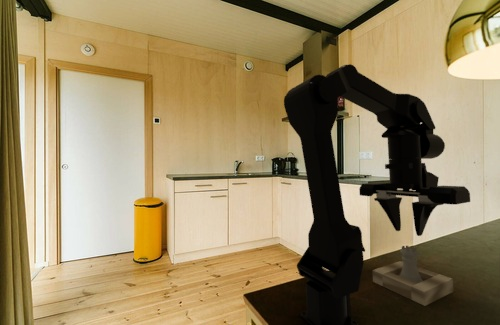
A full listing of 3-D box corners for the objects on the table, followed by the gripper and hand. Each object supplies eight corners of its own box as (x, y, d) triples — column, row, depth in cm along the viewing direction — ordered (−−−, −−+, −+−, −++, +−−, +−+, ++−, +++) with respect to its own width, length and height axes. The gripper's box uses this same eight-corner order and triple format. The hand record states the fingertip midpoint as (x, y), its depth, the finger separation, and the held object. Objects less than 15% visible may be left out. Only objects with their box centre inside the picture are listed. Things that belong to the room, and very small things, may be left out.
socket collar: (425, 306, 40) (424, 291, 40) (373, 281, 49) (372, 270, 49) (453, 291, 44) (452, 278, 44) (400, 271, 53) (400, 261, 53)
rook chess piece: (412, 294, 44) (410, 252, 44) (393, 283, 48) (391, 245, 49) (430, 290, 45) (428, 250, 45) (409, 280, 49) (407, 243, 50)
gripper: (481, 155, 43) (486, 238, 42) (385, 160, 60) (388, 220, 59) (451, 155, 38) (457, 249, 37) (356, 161, 55) (359, 225, 54)
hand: (408, 233), depth 47 cm, fingers open, 4 cm apart
